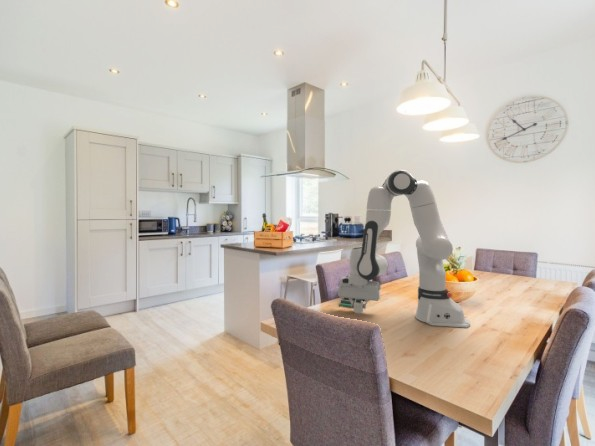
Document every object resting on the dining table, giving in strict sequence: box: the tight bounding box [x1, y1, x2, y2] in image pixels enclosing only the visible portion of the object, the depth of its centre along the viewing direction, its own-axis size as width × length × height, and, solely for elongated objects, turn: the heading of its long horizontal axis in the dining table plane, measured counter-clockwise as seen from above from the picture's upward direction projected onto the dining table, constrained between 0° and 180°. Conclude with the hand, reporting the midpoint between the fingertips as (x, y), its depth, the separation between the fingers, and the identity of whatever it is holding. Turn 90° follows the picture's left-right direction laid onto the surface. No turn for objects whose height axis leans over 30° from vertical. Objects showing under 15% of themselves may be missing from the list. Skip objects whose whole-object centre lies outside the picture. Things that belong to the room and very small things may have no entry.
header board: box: [338, 297, 364, 309], centre depth 165 cm, size 10×12×3 cm
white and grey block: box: [353, 300, 364, 314], centre depth 152 cm, size 4×5×6 cm
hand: (358, 307), depth 152 cm, fingers closed on white and grey block, 4 cm apart
